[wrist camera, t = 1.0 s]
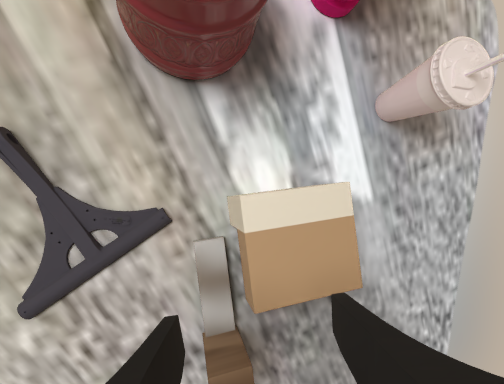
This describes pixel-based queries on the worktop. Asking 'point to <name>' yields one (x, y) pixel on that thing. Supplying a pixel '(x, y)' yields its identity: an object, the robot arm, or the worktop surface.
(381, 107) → the smoothie
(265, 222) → the tan block
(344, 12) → the pepper mill
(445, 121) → the worktop surface
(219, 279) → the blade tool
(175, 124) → the worktop surface
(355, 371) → the robot arm
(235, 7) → the canister
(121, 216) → the bracket
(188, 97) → the worktop surface
